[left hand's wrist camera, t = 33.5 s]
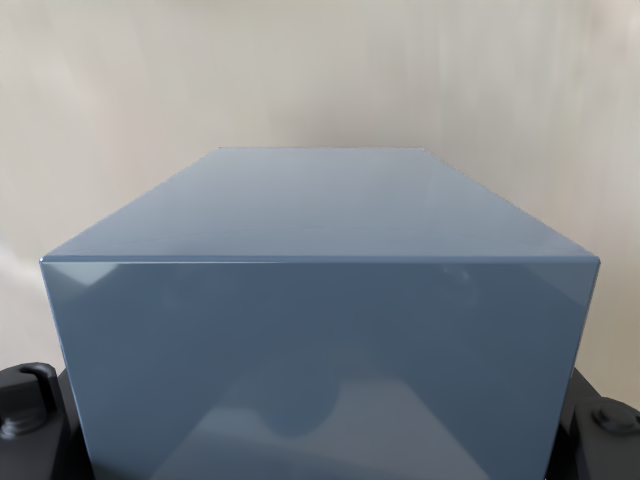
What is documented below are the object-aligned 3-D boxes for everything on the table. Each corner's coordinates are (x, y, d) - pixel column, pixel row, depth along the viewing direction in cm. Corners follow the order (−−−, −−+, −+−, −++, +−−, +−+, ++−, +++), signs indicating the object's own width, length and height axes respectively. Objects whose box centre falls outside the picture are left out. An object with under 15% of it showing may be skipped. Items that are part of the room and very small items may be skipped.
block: (404, 347, 18) (503, 649, 8) (234, 347, 18) (136, 649, 8) (421, 147, 15) (605, 258, 5) (217, 146, 15) (34, 258, 5)
